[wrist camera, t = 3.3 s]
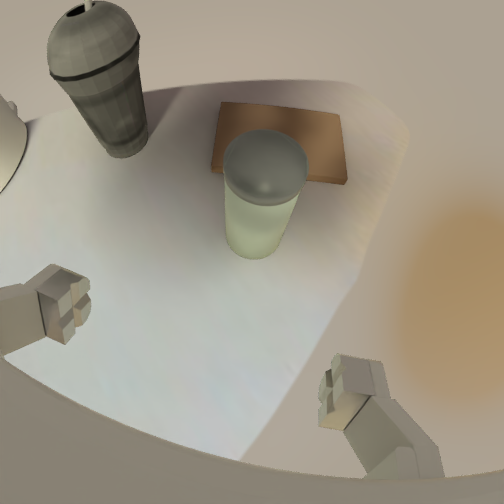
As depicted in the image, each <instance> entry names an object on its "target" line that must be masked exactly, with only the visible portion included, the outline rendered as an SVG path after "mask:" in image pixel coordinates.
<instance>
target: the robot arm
mask: <svg viewBox="0 0 504 504" xmlns="http://www.w3.org/2000/svg"><path fill="white" fill-rule="evenodd" d="M26 140H27V130H26V126H25V124H24V122H23V121H22V120H21V119H20V118H19V117H18V116H17V106H16V105H15V104H14V103H13V102H12V101H10V102H6V101H5V100H4V98H3V97H2V96H1V95H0V192H1V191H2V189H3V188H4V187H5V185H6V184H7V183H8V181H9V180H10V178H11V177H12V175H13V173H14V172H15V170H16V168H17V166H18V164H19V162H20V160H21V157H22V155H23V152H24V149H25V145H26ZM89 290H90V280H89V279H88V278H87V277H84V276H82V275H80V274H77V273H75V272H73V271H70V270H68V269H66V268H63V267H60V266H58V265H56V264H50V265H49V266H47V267H46V268H45V269H43V270H42V271H41V272H39V273H38V274H37V275H35V276H34V277H33V278H31V279H30V280H29V281H28V282H26V283H25V284H24V285H23V284H21V283H20V284H16V285H11V286H7V287H2V288H0V504H504V469H503V470H498V471H492V472H486V473H480V474H472V475H465V476H456V477H445V475H444V471H443V466H442V462H441V457H440V453H439V449H438V446H437V445H436V444H435V443H434V442H433V441H432V440H431V439H430V437H429V436H428V435H427V434H426V433H425V432H424V431H423V430H422V429H421V427H420V426H419V425H418V424H417V423H416V422H415V421H414V420H413V419H412V418H411V417H410V415H409V414H408V413H407V412H406V411H405V410H404V409H403V408H402V407H401V406H400V405H399V403H398V402H397V401H396V400H395V399H391V397H390V393H389V388H388V384H387V380H386V376H385V371H384V367H383V364H382V362H381V361H376V360H370V359H363V358H358V357H353V356H348V355H343V354H339V353H337V354H336V355H335V356H334V358H333V360H332V361H331V369H330V370H328V371H326V372H325V374H324V376H323V378H322V380H321V384H320V387H319V393H318V399H319V401H320V402H321V403H322V405H321V407H320V408H319V410H318V420H319V421H318V426H319V427H324V428H329V429H335V430H341V431H343V433H344V435H345V436H346V438H347V440H348V441H349V443H350V445H351V447H352V448H353V450H354V452H355V453H356V455H357V457H358V458H359V460H360V462H361V463H362V465H363V467H364V468H365V470H366V472H367V475H366V476H365V477H364V478H362V479H358V478H344V477H332V476H322V475H313V474H306V473H299V472H292V471H286V470H280V469H274V468H269V467H264V466H259V465H254V464H249V463H245V462H240V461H236V460H232V459H228V458H224V457H220V456H216V455H212V454H209V453H205V452H202V451H198V450H195V449H192V448H188V447H185V446H182V445H179V444H176V443H173V442H170V441H167V440H164V439H161V438H158V437H156V436H153V435H150V434H148V433H145V432H142V431H140V430H137V429H135V428H132V427H130V426H127V425H125V424H123V423H120V422H118V421H116V420H113V419H111V418H109V417H107V416H104V415H102V414H100V413H98V412H96V411H94V410H91V409H89V408H87V407H85V406H83V405H81V404H79V403H77V402H75V401H73V400H71V399H69V398H68V397H66V396H64V395H62V394H60V393H58V392H56V391H55V390H53V389H51V388H49V387H48V386H46V385H44V384H42V383H41V382H39V381H37V380H36V379H34V378H32V377H31V376H29V375H27V374H26V373H24V372H23V371H21V370H19V369H18V368H16V367H15V366H13V365H12V364H10V363H9V362H7V361H6V360H5V359H4V355H6V354H8V353H11V352H13V351H15V350H18V349H20V348H22V347H24V346H27V345H29V344H31V343H33V342H36V341H38V340H40V339H42V338H45V337H46V336H47V337H49V338H51V339H53V340H55V341H58V342H60V343H62V344H64V345H66V344H67V342H68V341H69V340H70V339H71V338H72V337H73V335H74V334H75V328H76V327H79V326H82V325H83V324H84V323H85V322H86V320H87V319H88V316H89V314H90V310H91V299H90V298H89V296H88V294H87V292H88V291H89Z"/></svg>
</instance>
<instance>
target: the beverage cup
mask: <svg viewBox="0 0 504 504" xmlns="http://www.w3.org/2000/svg"><path fill="white" fill-rule="evenodd" d="M139 40H140V35H139V33H138V31H137V29H136V27H135V25H134V23H133V21H132V19H131V17H130V16H129V15H128V13H127V12H126V11H125V10H124V9H122V8H121V7H119V6H117V5H115V4H113V3H110V2H106V1H92V0H84V3H82V4H80V5H77V6H75V7H74V8H72V9H71V10H69V11H68V12H66V13H65V14H64V15H63V16H62V17H61V18H60V19H59V20H58V22H57V23H56V25H55V26H54V28H53V30H52V31H51V34H50V36H49V39H48V44H47V60H48V65H49V70H50V75H51V76H52V77H53V78H54V80H56V81H57V82H58V84H59V85H60V86H61V87H62V88H63V89H64V91H65V92H66V93H67V94H68V95H69V96H70V98H71V100H72V101H73V103H74V104H75V106H76V107H77V109H78V110H79V112H80V114H81V115H82V117H83V118H84V120H85V121H86V123H87V124H88V126H89V127H90V129H91V130H92V132H93V133H94V135H95V136H96V138H97V139H98V141H99V142H100V144H101V145H102V146H103V147H104V148H105V149H106V151H107V152H108V154H109V155H110V156H112V157H115V158H127V157H130V156H132V155H135V154H136V153H138V152H139V151H140V150H141V149H142V148H143V147H144V146H145V144H146V142H147V140H148V132H147V120H146V114H145V107H144V101H143V94H142V87H141V80H140V72H139V64H138V60H139Z"/></svg>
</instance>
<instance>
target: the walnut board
mask: <svg viewBox="0 0 504 504" xmlns="http://www.w3.org/2000/svg"><path fill="white" fill-rule="evenodd" d="M257 129H269V130H275V131H278V132H281V133H284V134H286V135H288V136H290V137H291V138H293V139H294V140H295V141H297V142H298V143H299V144H300V146H301V147H302V148H303V149H304V151H305V153H306V155H307V158H308V161H309V172H308V176H307V179H306V180H309V181H318V182H326V183H334V184H342V185H344V184H345V183H346V181H347V170H346V161H345V152H344V144H343V137H342V130H341V123H340V116H339V115H337V114H331V113H324V112H318V111H311V110H304V109H296V108H288V107H279V106H270V105H259V104H247V103H232V102H221V107H220V113H219V119H218V125H217V131H216V138H215V144H214V151H213V157H212V164H211V170H212V172H217V173H223V157H224V153H225V150H226V148H227V147H228V145H229V144H230V142H231V141H232V140H233V139H235V138H236V137H237V136H239V135H241V134H243V133H245V132H248V131H251V130H257Z"/></svg>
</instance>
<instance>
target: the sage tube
mask: <svg viewBox="0 0 504 504" xmlns="http://www.w3.org/2000/svg"><path fill="white" fill-rule="evenodd" d="M308 172H309V161H308V158H307V155H306V153H305V151H304V149H303V148H302V147H301V146H300V144H299V143H298V142H297V141H295V140H294V139H293V138H291V137H290V136H288V135H286V134H284V133H281V132H278V131H275V130H269V129H257V130H251V131H248V132H245V133H243V134H241V135H239V136H237V137H236V138H235V139H233V140H232V141H231V142H230V144H229V145H228V147H227V148H226V150H225V153H224V157H223V173H224V188H225V228H226V239H227V242H228V244H229V246H230V248H231V249H232V250H233V251H234V252H235V253H236V254H238V255H239V256H241V257H244V258H247V259H262V258H265V257H267V256H269V255H270V254H272V253H273V252H274V251H275V250H276V249H277V247H278V246H279V243H280V241H281V238H282V236H283V234H284V231H285V229H286V226H287V224H288V221H289V219H290V216H291V214H292V211H293V209H294V206H295V204H296V201H297V199H298V196H299V194H300V191H301V190H302V188H303V186H304V184H305V181H306V179H307V176H308Z"/></svg>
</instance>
